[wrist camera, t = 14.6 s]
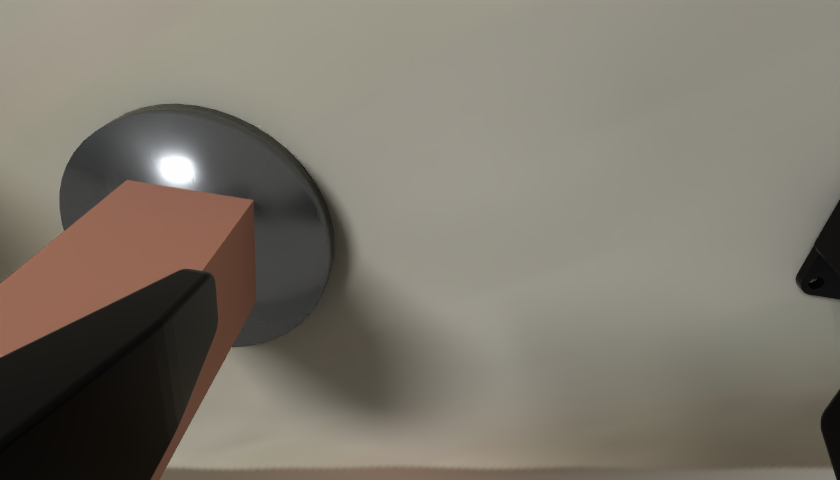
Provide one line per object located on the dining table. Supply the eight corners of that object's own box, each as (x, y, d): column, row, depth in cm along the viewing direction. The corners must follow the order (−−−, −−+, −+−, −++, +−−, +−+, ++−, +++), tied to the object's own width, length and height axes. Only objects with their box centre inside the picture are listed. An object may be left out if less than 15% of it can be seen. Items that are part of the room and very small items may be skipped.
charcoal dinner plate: (341, 128, 19) (335, 139, 19) (328, 347, 25) (322, 364, 24) (51, 82, 20) (31, 91, 19) (99, 311, 25) (86, 326, 24)
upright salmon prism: (253, 200, 20) (126, 374, 13) (256, 301, 22) (150, 497, 15) (126, 179, 20) (-72, 342, 13) (142, 283, 22) (-18, 469, 15)
